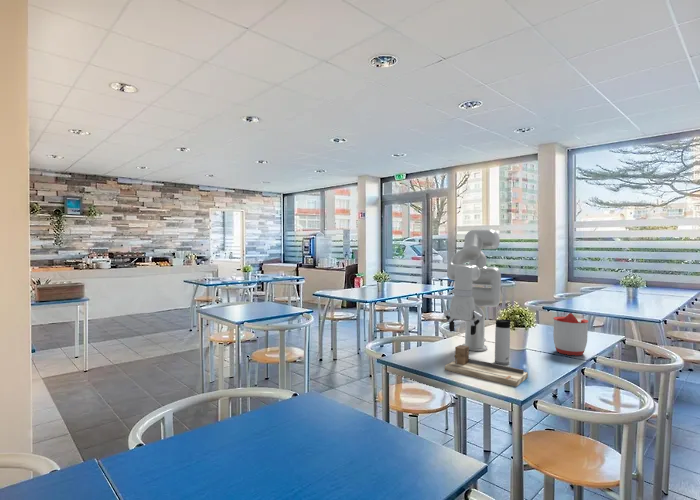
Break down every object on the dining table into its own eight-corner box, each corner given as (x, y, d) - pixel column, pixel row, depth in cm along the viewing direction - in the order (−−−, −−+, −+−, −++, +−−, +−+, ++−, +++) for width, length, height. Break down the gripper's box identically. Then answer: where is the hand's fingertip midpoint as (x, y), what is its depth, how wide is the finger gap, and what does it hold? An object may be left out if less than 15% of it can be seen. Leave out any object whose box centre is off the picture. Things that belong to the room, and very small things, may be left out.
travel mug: (511, 365, 186) (512, 321, 186) (495, 364, 188) (496, 320, 187) (508, 361, 193) (509, 318, 192) (493, 360, 194) (494, 317, 193)
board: (459, 362, 190) (459, 355, 190) (527, 377, 171) (528, 368, 170) (444, 370, 179) (445, 361, 179) (516, 386, 160) (516, 377, 160)
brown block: (460, 360, 186) (460, 344, 185) (468, 362, 183) (468, 346, 183) (451, 364, 179) (451, 348, 179) (460, 366, 177) (460, 350, 176)
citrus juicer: (595, 353, 208) (596, 314, 207) (577, 359, 198) (578, 317, 197) (564, 346, 220) (565, 309, 220) (545, 351, 210) (547, 312, 210)
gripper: (441, 292, 184) (440, 331, 184) (479, 296, 173) (477, 337, 173) (448, 291, 190) (447, 328, 190) (485, 294, 179) (484, 334, 179)
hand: (462, 332), depth 182 cm, fingers open, 9 cm apart
